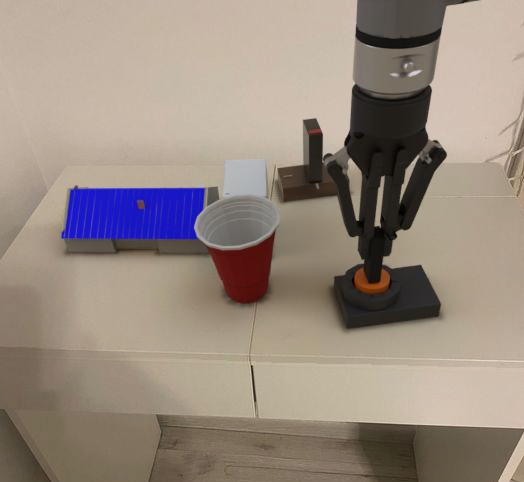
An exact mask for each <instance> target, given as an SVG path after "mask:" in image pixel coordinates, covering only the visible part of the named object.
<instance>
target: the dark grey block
mask: <svg viewBox="0 0 524 482" xmlns="http://www.w3.org/2000/svg"><path fill="white" fill-rule="evenodd" d="M302 155H303V157H302V161H303V162H302V165H303V166H304V169H305V172H306V175H307V178H308V181H309V183H311V182H319V181H322V172H323V157H324V133H323V131H322V129H321V125H320V123H319V121H318V119H317V118H316V117H314V118H307V119H302Z"/></svg>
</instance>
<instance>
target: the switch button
mask: <svg viewBox="0 0 524 482" xmlns="http://www.w3.org/2000/svg"><path fill="white" fill-rule="evenodd" d="M389 282H390V276H389V274H388V272H387V271H385V270H384V269H382V272H381V281H380V282H376V283H368V281H367V278H366V276H365V273H364V271H363V268H361V269H359V270H358V271H357V272H356V274H355V279H354V287H355V288H356V289H358V290H359V291H360V292H363V293H368V294H379V293H383V292H385V291H386V290H388V289H389Z"/></svg>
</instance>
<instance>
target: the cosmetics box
mask: <svg viewBox="0 0 524 482" xmlns="http://www.w3.org/2000/svg"><path fill="white" fill-rule="evenodd" d="M267 166H268V165H267V159H266V158H265V157H263V158H262V157H261V158H240V159H239V158H238V159H225V160H224V166H223V167H224V169H223V180H222V181H223V182H222V193H221V199H223V198H226V197H230V196H233V195H246V194H252V195H257V196H262V197H265V198H267V199H269V200H270V197H269V180H268V167H267Z"/></svg>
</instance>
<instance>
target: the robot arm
mask: <svg viewBox="0 0 524 482" xmlns="http://www.w3.org/2000/svg"><path fill="white" fill-rule="evenodd" d="M478 1H480V0H356V18H355V19H356V21H355V34H354V46H353V47H354V49H353V61H352V62H353V63H352V81H353V82H354V84H353V85H352V88H351V96H350V97H351V99H350V116H349V117H350V119H349V130H348V133H347V135H346V137H345V138H344V141H343V147H341V148H340V149H339V150H338V151H336V152H335V153H331V152H328V153H325V154H323V162H324V164H325V167H326V169H327V172H328V174H329V175H330V176H331V178H332V179H333V180H334V184H335V188H336V192H337V195H336V196H337V200H338V204H339V205H338V206H339V209H340V213H341V216H342V222H343V225H344V227H345V230H346V232H347V235H348V237H349V238H356V237H358V239H357V252H358V254H359V257H360V259H361V260H362V261H363V263H364V267H363V271H364V273H365V276H366V278H367V281H368V283H376V282H380V281H381V272H382V264H383V265H384V263H383V262H384V258H386V257H390V256H391V254H392V249H393V242H394V241H395V240H396V239H397V238H398V234H397V232H400V231H401V230H402V231H408V230H410V229H411V228H412V225H413V224H414V221H415V219H416V216H417V214H418V213H419V210H420V208H421V205H422V203H423V200H424V198H425V195H426V193H427V191H428V188H429V187H430V184H431V181H432V180H433V177H434V174H435V172H436V171H437V170H438V168H439V167H440V166H441V165H442V164H443V162H444V161H445V160H446V159H447V157H448V152H447V151H446V149H445V148H444V147H443V145H442V144H441V143H440V142H439V140H438V139H433V140H431V139H429V134H428V131H427V128H426V126H427V124H428V119H429V112H430V106H431V100H432V93H433V87H432V86H431V84H432V82H433V81H434V79H435V74H436V69H437V68H436V67H437V60H438V55H439V49H440V48H439V47H440V42H441V35H442V31H443V26H444V20H445V16H446V11H447V7H448V6H449V7H450V6H456V5H457V6H458V5H463V4H467V3H472V2H473V3H474V2H478ZM416 159H417V160H416ZM349 160H352V162H353V163H354V165H355V166H356V167H357V168H358V170H359V171H360V173H361V174H360V175H361V185H360V187H361V188H360V198H359V210H358V219H357V217H356V213H355V208H354V203H353V199H352V194H351V189H350V183H349V184H348V181H347V179H346V176H345V174H346V173H347V174H348V171H349V168H350V167H349ZM415 160H416V162H415V164H414V166H413V168H412V172H411V174H410V176H409V180H408V181H407V184H406V186H405V189H404V192H403V194H402V187H403V185H404V184H405V177H406V171H407V169H408V168H409V167H410V165H411V164H412V163H413V162H414V161H415ZM383 177H384V180H383V189H382V198H381V206H380V217H379V225H376V216H377V206H378V198H379V197H378V196H379V189H380V188H381V183H382V178H383ZM401 196H402V197H401Z"/></svg>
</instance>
